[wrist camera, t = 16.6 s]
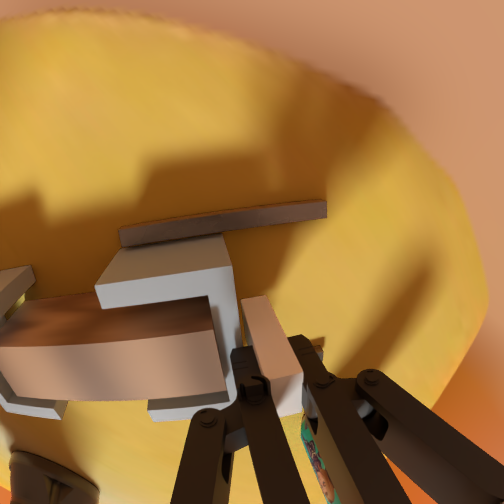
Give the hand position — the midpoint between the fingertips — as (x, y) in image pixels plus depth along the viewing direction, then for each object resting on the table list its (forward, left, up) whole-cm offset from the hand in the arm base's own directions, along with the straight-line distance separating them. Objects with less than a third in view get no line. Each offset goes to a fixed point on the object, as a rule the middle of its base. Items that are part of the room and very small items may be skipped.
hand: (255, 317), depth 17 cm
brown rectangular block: (-9, 0, -2) cm, 10 cm away
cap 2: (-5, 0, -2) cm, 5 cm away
